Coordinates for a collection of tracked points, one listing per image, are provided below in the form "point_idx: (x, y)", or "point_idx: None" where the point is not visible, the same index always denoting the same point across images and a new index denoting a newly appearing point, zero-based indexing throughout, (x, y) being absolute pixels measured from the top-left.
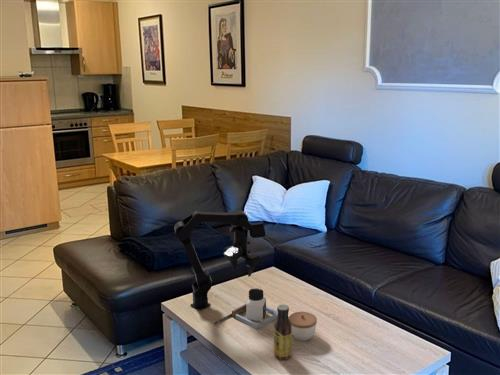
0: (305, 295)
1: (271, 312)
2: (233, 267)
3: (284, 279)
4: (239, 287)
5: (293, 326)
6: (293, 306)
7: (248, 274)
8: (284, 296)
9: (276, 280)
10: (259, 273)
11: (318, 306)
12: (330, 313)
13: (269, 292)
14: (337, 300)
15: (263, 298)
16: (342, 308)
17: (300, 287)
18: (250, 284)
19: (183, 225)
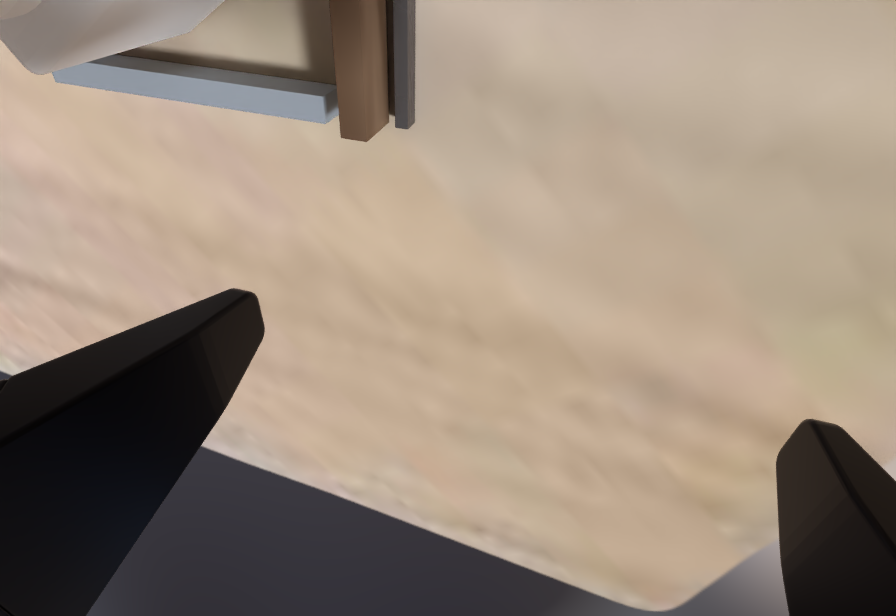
0: (251, 406)
1: (150, 62)
2: (861, 504)
3: (493, 525)
4: (778, 341)
5: None
6: (172, 262)
7: (192, 313)
8: (325, 353)
9: (530, 507)
10: (715, 562)
11: (103, 328)
12: (7, 289)
13: (451, 362)
14: None
15: (2, 24)
16: (38, 357)
17: (346, 471)
18: (690, 419)
19: None
